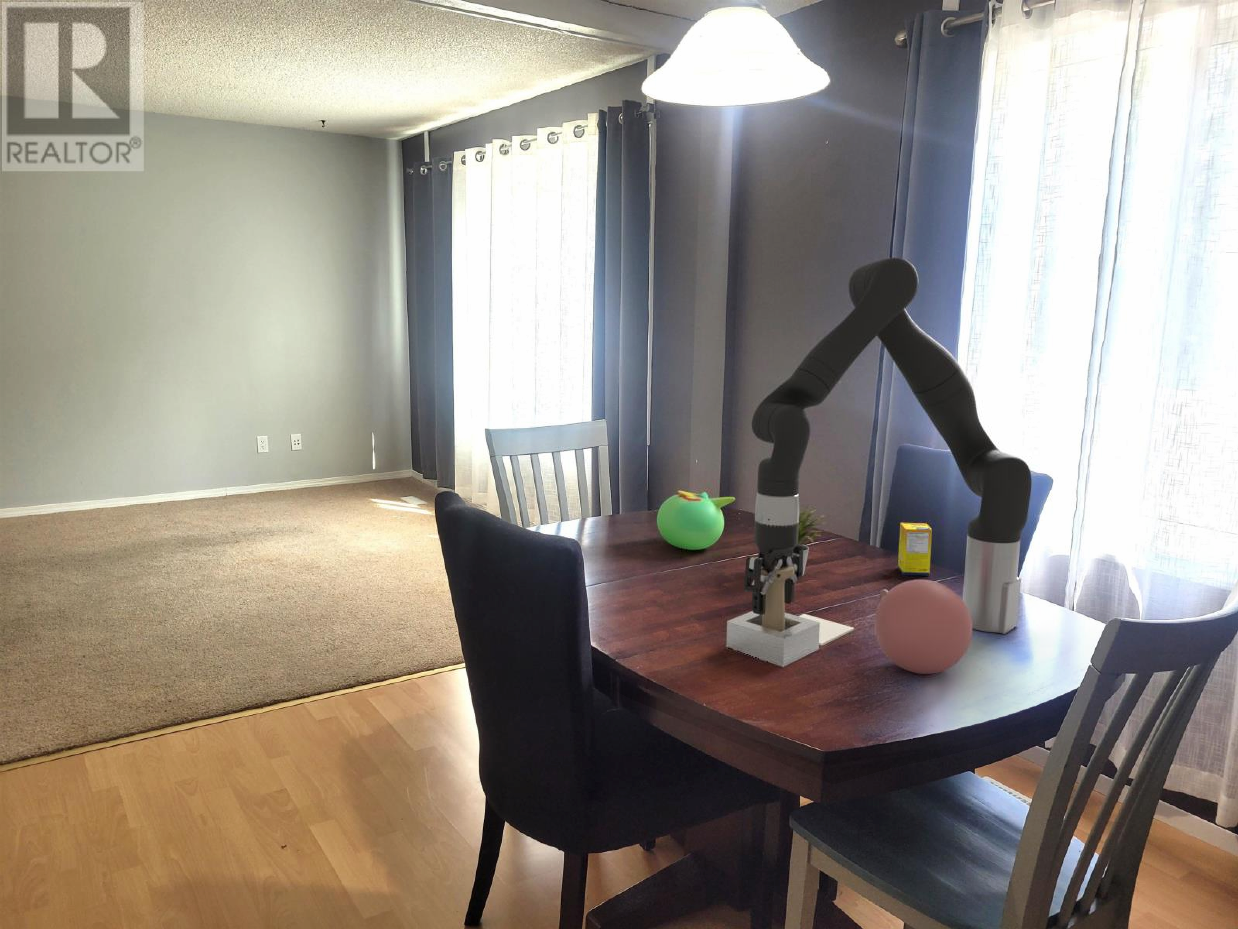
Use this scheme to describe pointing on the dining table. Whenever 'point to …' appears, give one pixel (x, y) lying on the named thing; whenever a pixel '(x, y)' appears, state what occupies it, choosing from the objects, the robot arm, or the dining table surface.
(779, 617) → the handle
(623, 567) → the dining table surface
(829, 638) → the mat
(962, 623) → the balloon
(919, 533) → the supplement box
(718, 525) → the toy bird
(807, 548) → the house plant
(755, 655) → the collar
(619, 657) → the dining table surface
